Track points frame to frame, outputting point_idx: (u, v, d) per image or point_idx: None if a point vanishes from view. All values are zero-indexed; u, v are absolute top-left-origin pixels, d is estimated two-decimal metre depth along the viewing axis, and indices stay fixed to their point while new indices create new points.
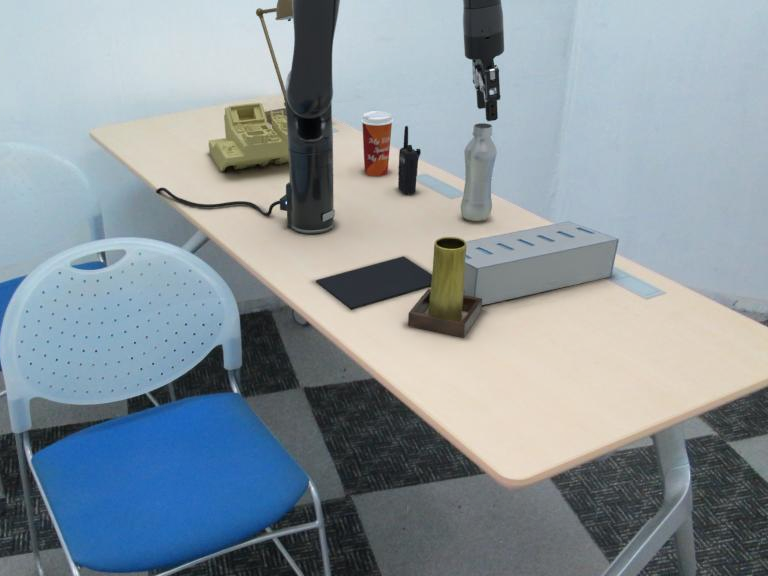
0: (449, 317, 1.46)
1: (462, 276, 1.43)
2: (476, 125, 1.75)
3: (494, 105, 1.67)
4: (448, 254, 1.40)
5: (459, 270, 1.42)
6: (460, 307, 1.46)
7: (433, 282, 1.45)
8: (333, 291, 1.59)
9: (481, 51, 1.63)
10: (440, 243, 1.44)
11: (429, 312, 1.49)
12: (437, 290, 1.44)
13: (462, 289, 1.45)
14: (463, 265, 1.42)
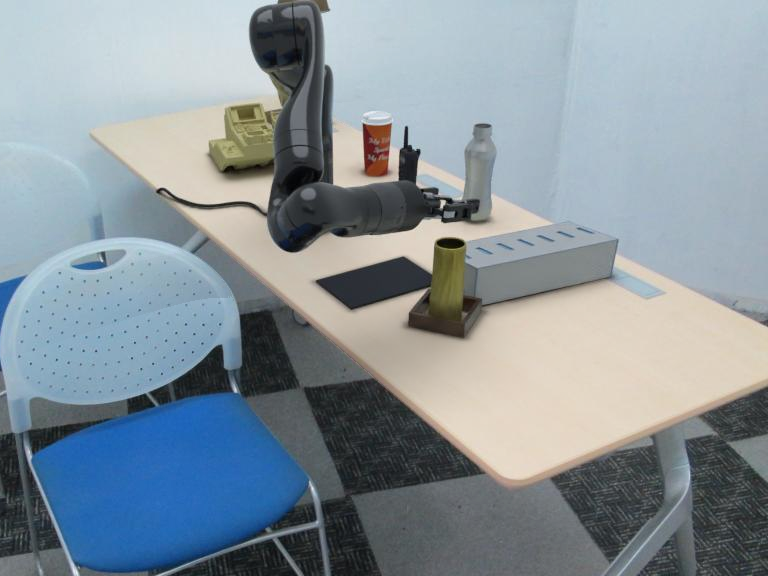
0: (449, 317, 1.46)
1: (462, 276, 1.43)
2: (476, 125, 1.75)
3: None
4: (448, 254, 1.40)
5: (459, 270, 1.42)
6: (460, 307, 1.46)
7: (433, 282, 1.45)
8: (333, 291, 1.59)
9: None
10: (440, 243, 1.44)
11: (429, 312, 1.49)
12: (437, 290, 1.44)
13: (462, 289, 1.45)
14: (463, 265, 1.42)
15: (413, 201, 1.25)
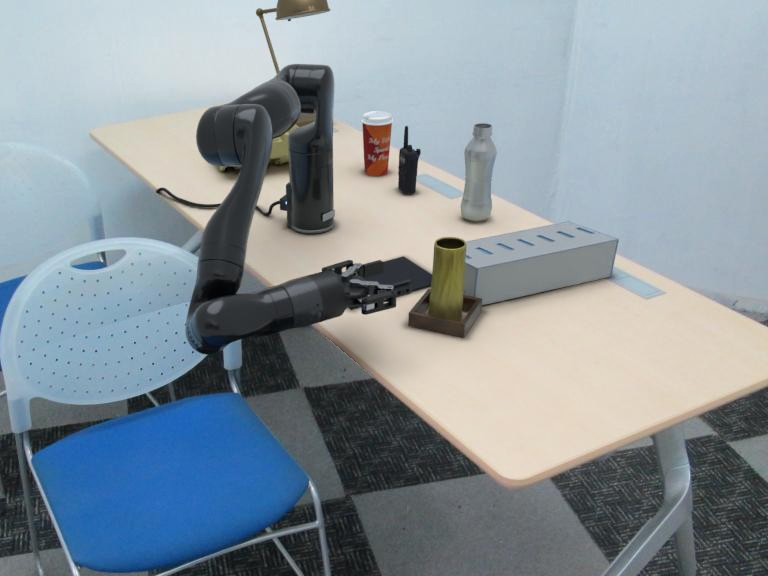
0: (449, 317, 1.46)
1: (462, 276, 1.43)
2: (476, 125, 1.75)
3: None
4: (448, 254, 1.40)
5: (459, 270, 1.42)
6: (460, 307, 1.46)
7: (433, 282, 1.45)
8: None
9: None
10: (440, 243, 1.44)
11: (429, 312, 1.49)
12: (437, 290, 1.44)
13: (462, 289, 1.45)
14: (463, 265, 1.42)
15: (331, 296, 1.31)
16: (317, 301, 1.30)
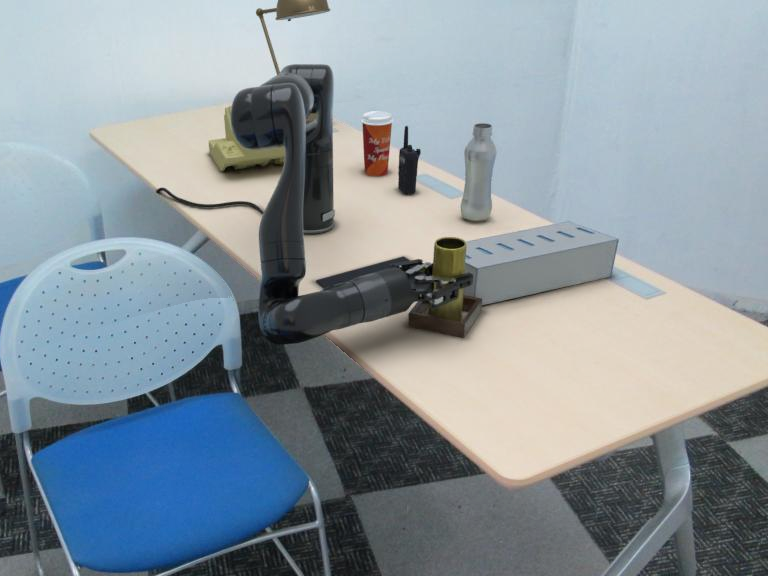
0: (449, 317, 1.46)
1: None
2: (476, 125, 1.75)
3: None
4: (448, 254, 1.40)
5: (459, 270, 1.42)
6: (460, 307, 1.46)
7: None
8: None
9: None
10: (440, 243, 1.44)
11: (429, 312, 1.49)
12: None
13: (462, 289, 1.45)
14: (463, 265, 1.42)
15: (398, 292, 1.37)
16: (386, 297, 1.36)
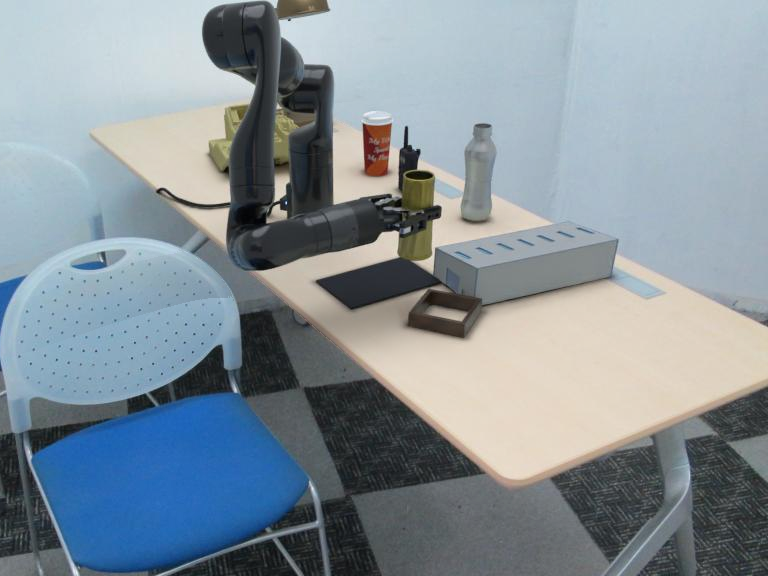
0: (418, 251, 1.47)
1: None
2: (476, 125, 1.75)
3: None
4: (416, 185, 1.41)
5: (427, 202, 1.43)
6: (429, 241, 1.47)
7: (402, 215, 1.46)
8: (333, 291, 1.59)
9: None
10: (409, 176, 1.44)
11: (399, 247, 1.49)
12: None
13: (431, 222, 1.46)
14: (432, 197, 1.43)
15: (366, 221, 1.38)
16: (353, 225, 1.37)
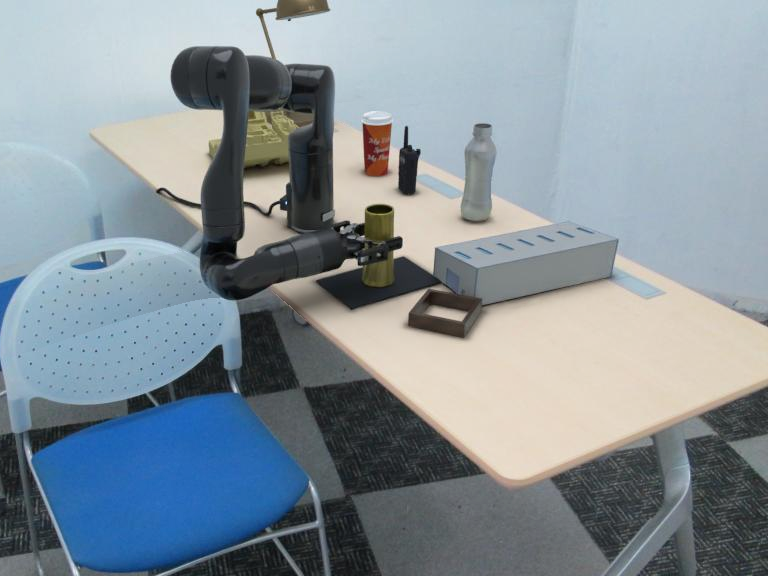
0: (380, 278, 1.58)
1: None
2: (476, 125, 1.75)
3: None
4: (376, 219, 1.52)
5: (387, 234, 1.54)
6: (391, 269, 1.58)
7: (365, 246, 1.57)
8: (333, 291, 1.59)
9: None
10: (371, 209, 1.56)
11: (363, 274, 1.61)
12: None
13: (392, 252, 1.57)
14: (392, 229, 1.55)
15: (330, 249, 1.49)
16: (318, 254, 1.48)
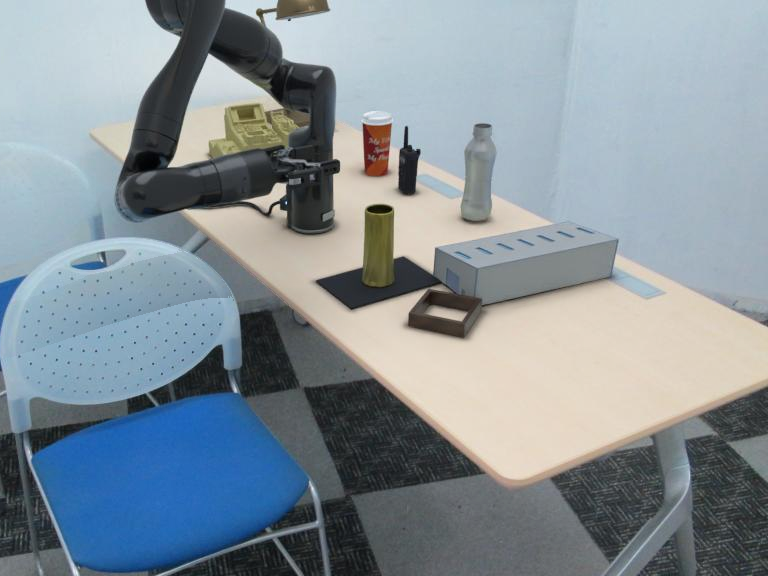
0: (380, 278, 1.58)
1: (391, 240, 1.55)
2: (476, 125, 1.75)
3: None
4: (376, 219, 1.52)
5: (387, 234, 1.54)
6: (391, 269, 1.58)
7: (365, 246, 1.57)
8: (333, 291, 1.59)
9: None
10: (371, 209, 1.56)
11: (363, 274, 1.61)
12: (368, 253, 1.56)
13: (392, 252, 1.57)
14: (392, 229, 1.55)
15: (258, 171, 1.34)
16: (244, 175, 1.33)
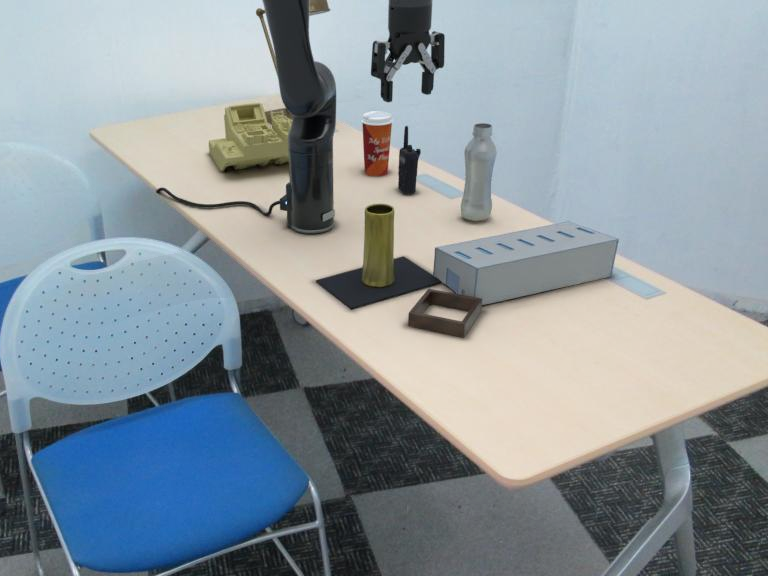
0: (380, 278, 1.58)
1: (391, 240, 1.55)
2: (476, 125, 1.75)
3: (384, 84, 1.53)
4: (376, 219, 1.52)
5: (387, 234, 1.54)
6: (391, 269, 1.58)
7: (365, 246, 1.57)
8: (333, 291, 1.59)
9: (388, 21, 1.49)
10: (371, 209, 1.56)
11: (363, 274, 1.61)
12: (368, 253, 1.56)
13: (392, 252, 1.57)
14: (392, 229, 1.55)
15: None
16: None
